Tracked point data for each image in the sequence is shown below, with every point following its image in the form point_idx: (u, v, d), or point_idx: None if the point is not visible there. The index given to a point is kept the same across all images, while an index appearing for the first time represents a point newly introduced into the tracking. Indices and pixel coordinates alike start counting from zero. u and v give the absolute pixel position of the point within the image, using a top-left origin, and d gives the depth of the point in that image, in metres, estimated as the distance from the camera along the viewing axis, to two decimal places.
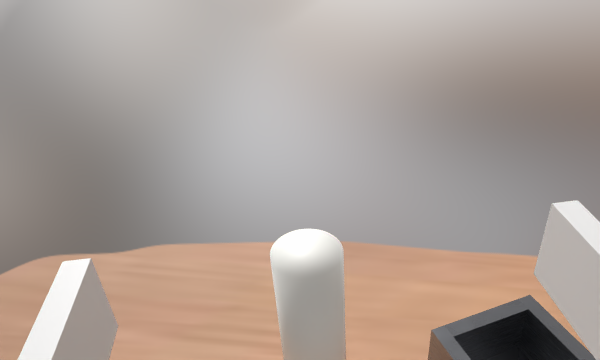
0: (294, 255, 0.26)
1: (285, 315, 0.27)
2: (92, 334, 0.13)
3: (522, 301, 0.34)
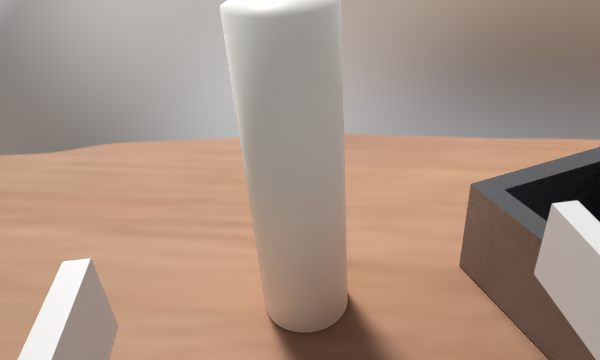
0: (260, 4, 0.16)
1: (248, 113, 0.17)
2: (92, 334, 0.13)
3: (598, 151, 0.24)
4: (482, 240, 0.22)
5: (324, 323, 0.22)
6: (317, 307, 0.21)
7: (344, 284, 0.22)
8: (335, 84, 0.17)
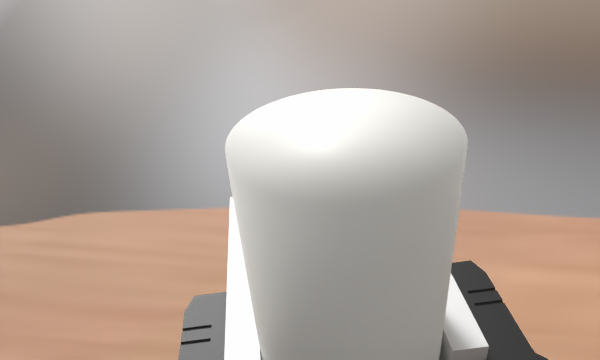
0: (305, 143, 0.08)
1: (278, 338, 0.09)
2: None
3: None
4: None
5: None
6: None
7: None
8: (445, 284, 0.09)
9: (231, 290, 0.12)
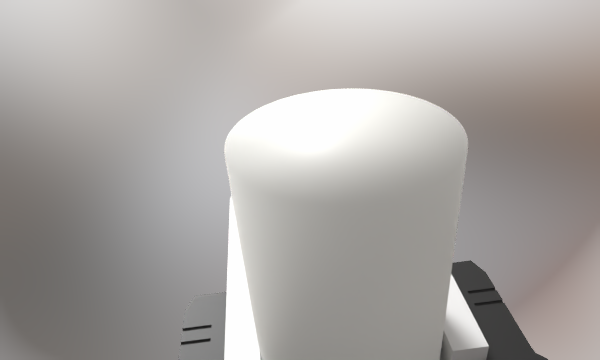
0: (304, 144, 0.08)
1: (278, 339, 0.09)
2: None
3: None
4: None
5: None
6: None
7: None
8: (445, 286, 0.09)
9: (231, 290, 0.12)
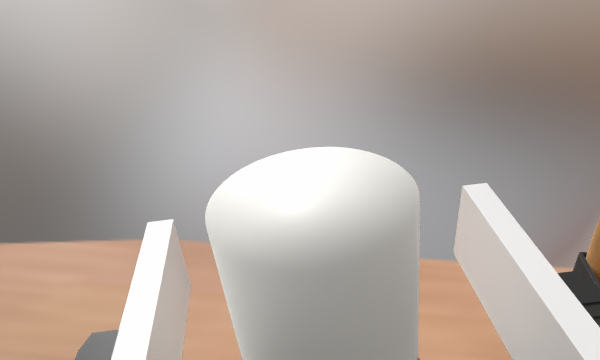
0: (275, 208, 0.09)
1: None
2: (177, 287, 0.14)
3: None
4: None
5: None
6: None
7: None
8: (411, 328, 0.10)
9: (123, 330, 0.11)
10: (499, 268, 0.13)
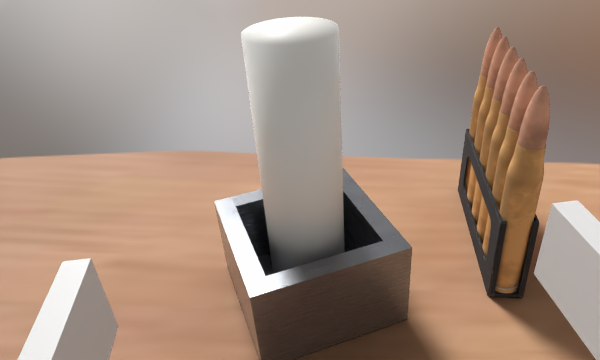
0: (273, 32, 0.20)
1: (263, 120, 0.20)
2: (92, 334, 0.13)
3: None
4: (225, 246, 0.28)
5: None
6: None
7: None
8: (334, 96, 0.20)
9: None
10: None
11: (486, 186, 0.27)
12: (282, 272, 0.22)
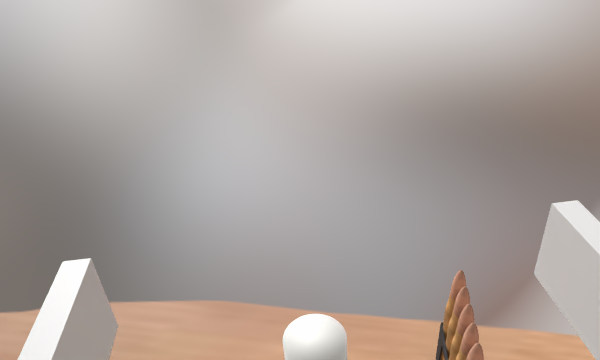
0: (304, 342, 0.30)
1: None
2: (92, 334, 0.13)
3: None
4: None
5: None
6: None
7: None
8: None
9: None
10: None
11: None
12: None
